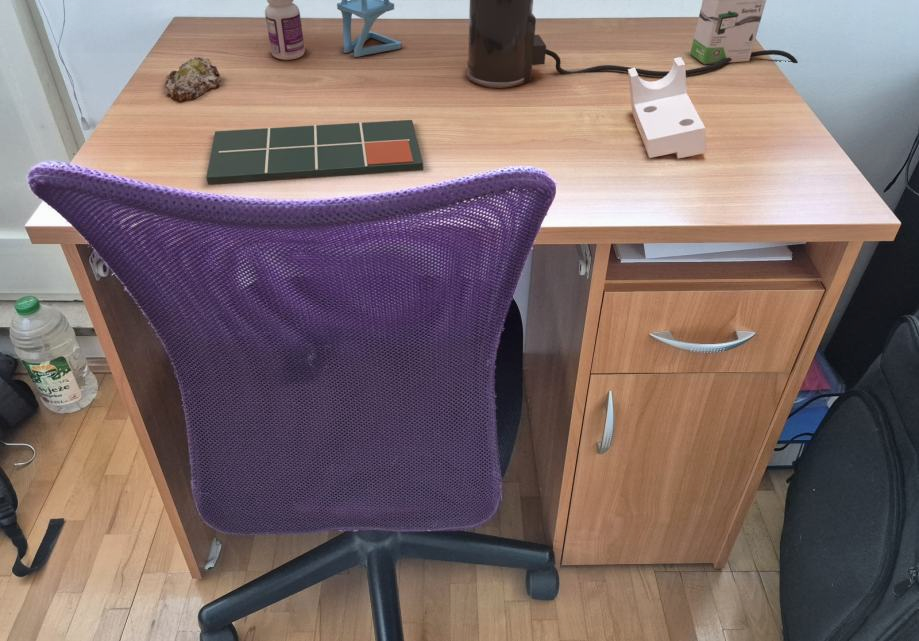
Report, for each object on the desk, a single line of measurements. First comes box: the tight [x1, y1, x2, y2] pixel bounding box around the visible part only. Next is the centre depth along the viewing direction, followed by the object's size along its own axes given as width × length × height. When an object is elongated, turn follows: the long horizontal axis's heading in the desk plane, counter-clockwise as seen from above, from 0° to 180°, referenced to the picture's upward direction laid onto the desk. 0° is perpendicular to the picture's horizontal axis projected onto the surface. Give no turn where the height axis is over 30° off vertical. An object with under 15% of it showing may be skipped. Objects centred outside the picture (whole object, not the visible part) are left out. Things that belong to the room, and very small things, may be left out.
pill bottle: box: [264, 0, 306, 61], centre depth 115 cm, size 5×5×10 cm
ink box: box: [689, 0, 767, 65], centre depth 116 cm, size 9×5×12 cm, turn 103°
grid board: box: [205, 119, 424, 185], centre depth 93 cm, size 26×12×1 cm, turn 99°
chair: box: [336, 0, 402, 58], centre depth 116 cm, size 8×8×12 cm
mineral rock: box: [164, 56, 221, 102], centre depth 107 cm, size 11×4×8 cm
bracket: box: [627, 56, 707, 159], centre depth 96 cm, size 13×7×8 cm, turn 179°
